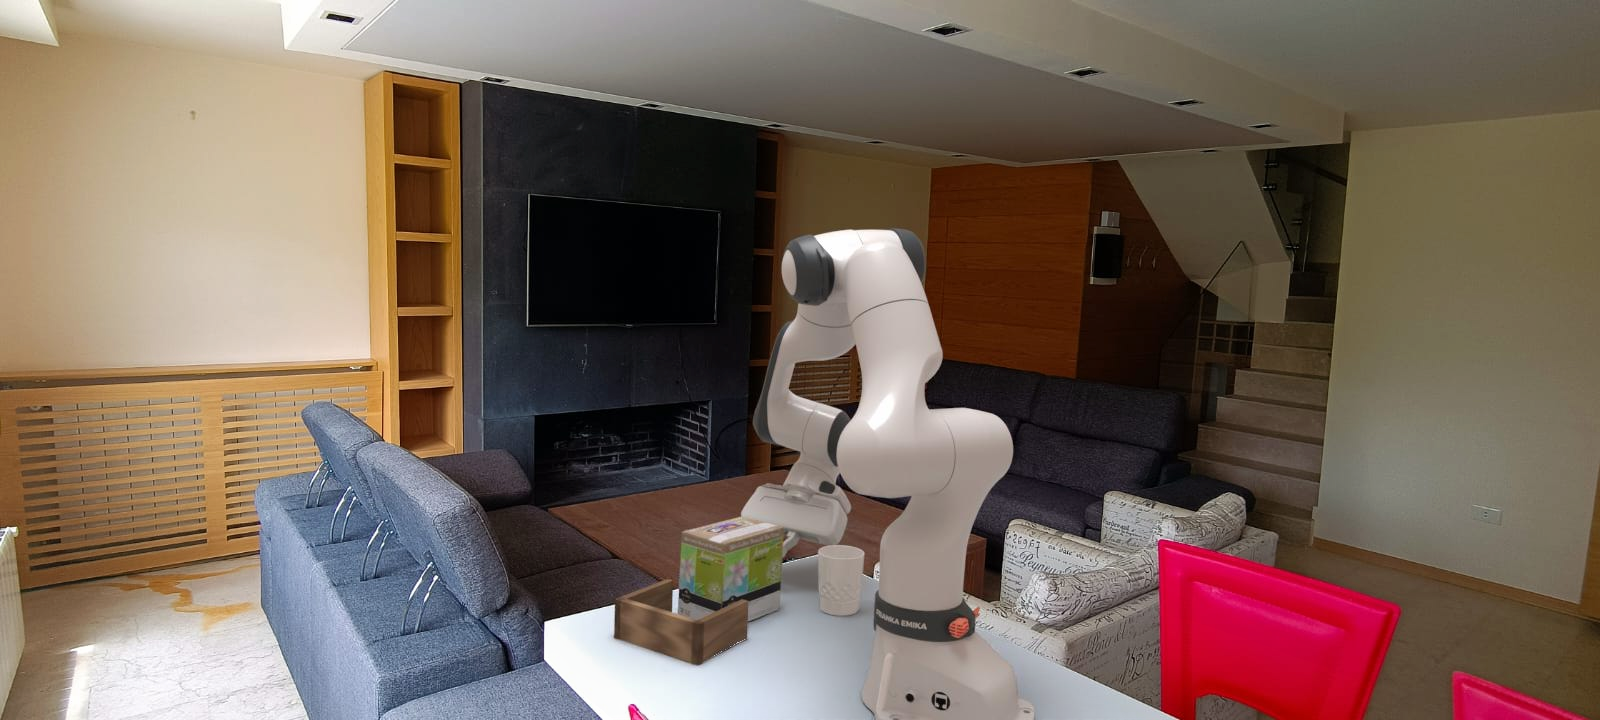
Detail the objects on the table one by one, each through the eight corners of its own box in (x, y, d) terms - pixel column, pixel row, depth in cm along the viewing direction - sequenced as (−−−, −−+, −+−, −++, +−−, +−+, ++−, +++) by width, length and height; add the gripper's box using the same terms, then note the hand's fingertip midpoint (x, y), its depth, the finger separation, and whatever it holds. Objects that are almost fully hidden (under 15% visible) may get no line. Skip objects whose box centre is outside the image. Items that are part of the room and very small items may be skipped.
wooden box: (747, 638, 134) (748, 600, 134) (697, 665, 124) (698, 624, 124) (666, 614, 143) (667, 578, 143) (614, 637, 133) (614, 599, 133)
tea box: (722, 636, 135) (724, 543, 134) (676, 619, 141) (678, 530, 140) (782, 610, 147) (785, 524, 146) (737, 596, 153) (740, 513, 152)
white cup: (806, 609, 148) (809, 552, 147) (831, 597, 154) (834, 542, 153) (846, 621, 143) (848, 561, 142) (870, 608, 150) (873, 551, 149)
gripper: (754, 472, 166) (721, 533, 158) (848, 489, 155) (817, 556, 147) (767, 491, 170) (735, 552, 162) (859, 509, 159) (829, 575, 151)
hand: (775, 554), depth 155 cm, fingers closed
